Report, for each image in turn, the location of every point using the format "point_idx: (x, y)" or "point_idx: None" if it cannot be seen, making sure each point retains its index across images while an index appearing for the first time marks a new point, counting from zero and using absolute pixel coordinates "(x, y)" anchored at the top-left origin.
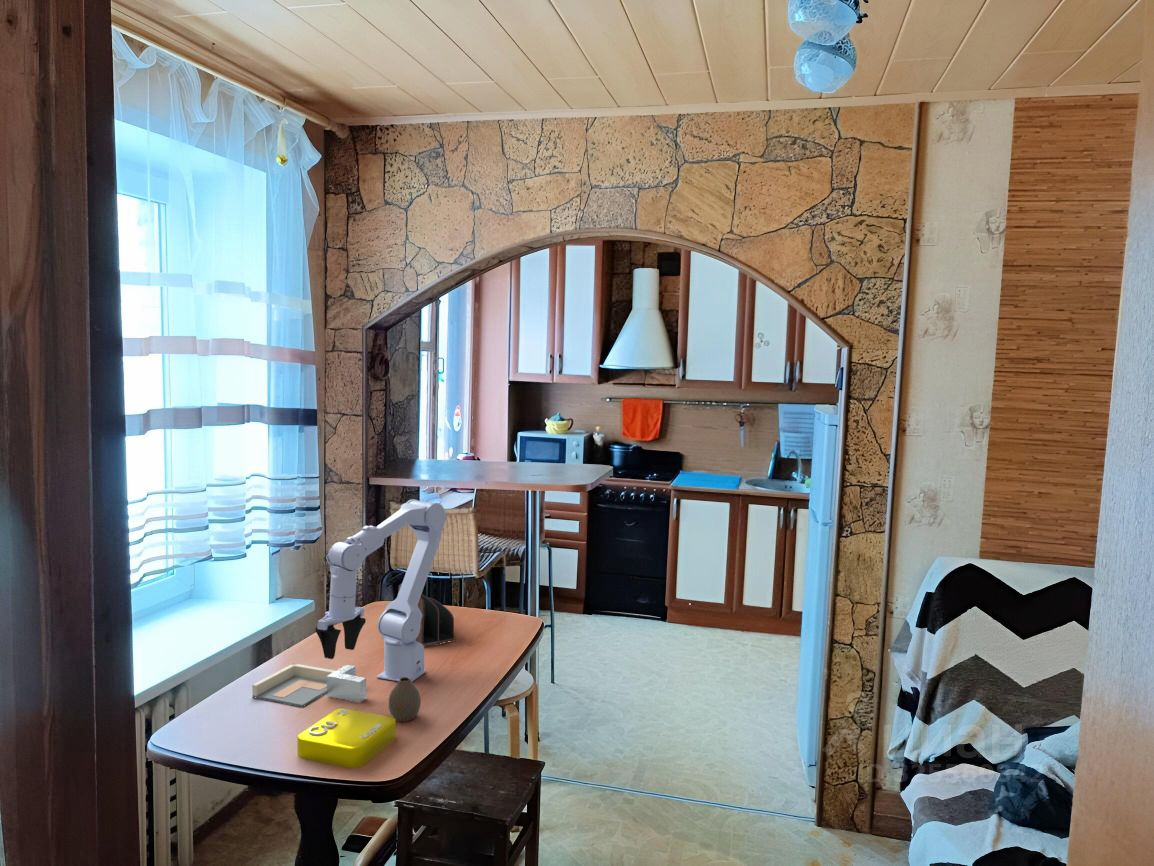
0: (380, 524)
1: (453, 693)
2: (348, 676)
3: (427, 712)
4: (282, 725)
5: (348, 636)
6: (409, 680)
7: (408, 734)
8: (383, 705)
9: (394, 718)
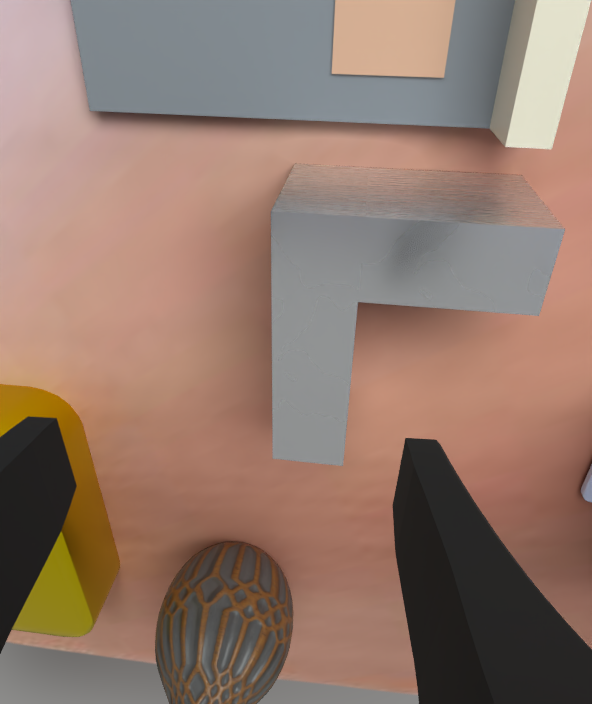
0: None
1: None
2: (323, 363)
3: (310, 606)
4: None
5: (435, 592)
6: None
7: (143, 599)
8: (306, 473)
9: (82, 635)
